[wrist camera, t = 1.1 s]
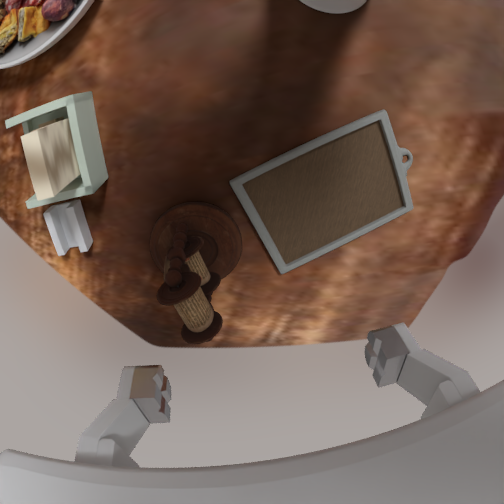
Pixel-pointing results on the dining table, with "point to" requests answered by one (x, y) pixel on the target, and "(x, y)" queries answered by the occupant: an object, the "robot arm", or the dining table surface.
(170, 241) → the scroll
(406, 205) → the framed board
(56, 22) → the bowl
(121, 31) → the dining table surface
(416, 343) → the robot arm
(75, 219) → the holder
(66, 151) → the beige streaked board
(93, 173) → the box
